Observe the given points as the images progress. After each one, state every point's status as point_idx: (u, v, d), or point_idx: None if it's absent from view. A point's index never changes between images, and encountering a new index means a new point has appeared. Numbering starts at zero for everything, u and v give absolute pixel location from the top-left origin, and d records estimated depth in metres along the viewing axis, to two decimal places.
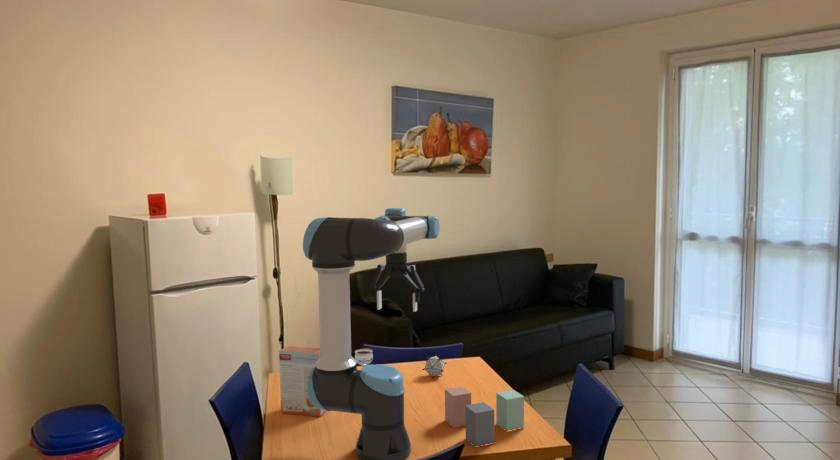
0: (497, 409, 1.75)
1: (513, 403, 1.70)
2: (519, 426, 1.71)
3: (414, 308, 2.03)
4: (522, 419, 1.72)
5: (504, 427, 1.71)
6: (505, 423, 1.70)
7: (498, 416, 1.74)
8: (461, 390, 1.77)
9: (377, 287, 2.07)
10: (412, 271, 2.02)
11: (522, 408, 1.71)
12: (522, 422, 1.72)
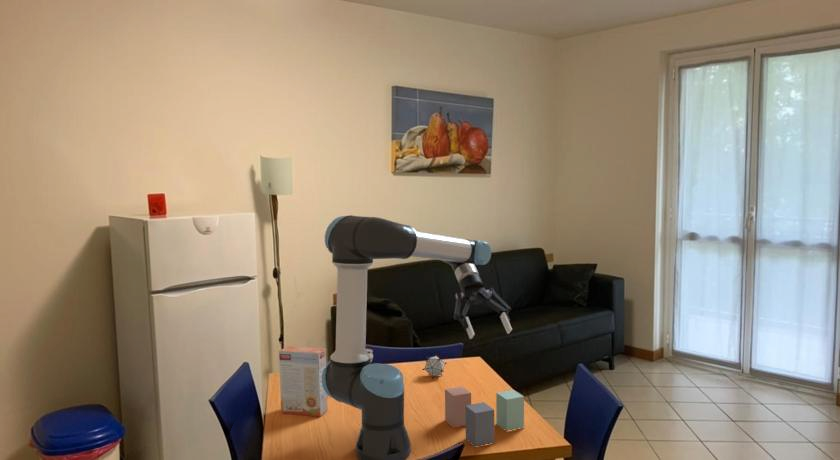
0: (497, 409, 1.75)
1: (514, 403, 1.70)
2: (519, 426, 1.71)
3: (510, 326, 1.84)
4: (522, 419, 1.72)
5: (504, 427, 1.71)
6: (505, 423, 1.70)
7: (498, 416, 1.74)
8: (461, 390, 1.77)
9: (464, 312, 1.83)
10: (494, 292, 1.92)
11: (522, 408, 1.71)
12: (522, 422, 1.72)
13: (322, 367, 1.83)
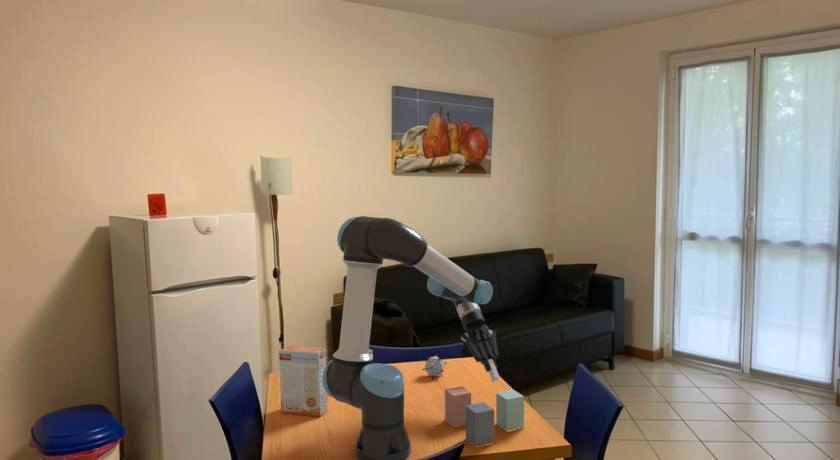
0: (497, 409, 1.75)
1: (513, 403, 1.70)
2: (519, 426, 1.71)
3: (497, 373, 1.81)
4: (522, 418, 1.72)
5: (504, 427, 1.71)
6: (505, 423, 1.70)
7: (498, 416, 1.74)
8: (461, 390, 1.77)
9: (484, 354, 1.85)
10: (494, 334, 1.91)
11: (522, 408, 1.71)
12: (522, 422, 1.72)
13: (322, 367, 1.83)
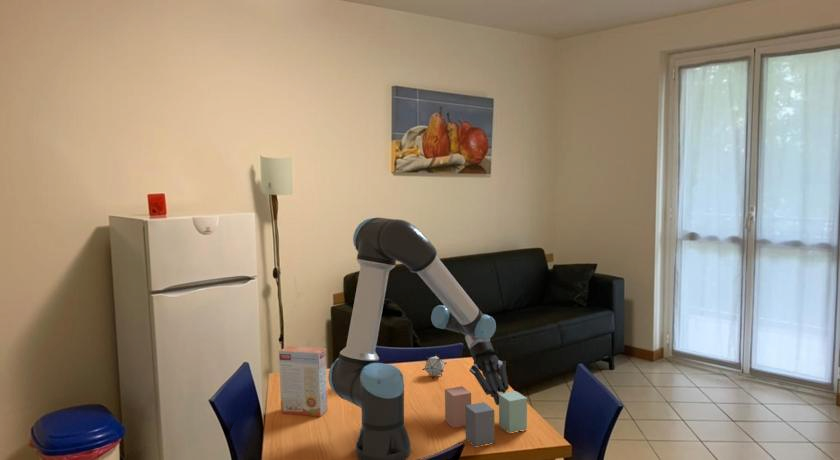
0: (499, 410, 1.73)
1: (516, 404, 1.69)
2: (522, 428, 1.70)
3: None
4: (525, 420, 1.70)
5: (507, 429, 1.70)
6: (508, 424, 1.69)
7: (501, 418, 1.72)
8: (461, 390, 1.77)
9: (494, 387, 1.80)
10: (503, 365, 1.86)
11: (525, 409, 1.70)
12: (525, 424, 1.70)
13: (322, 367, 1.83)
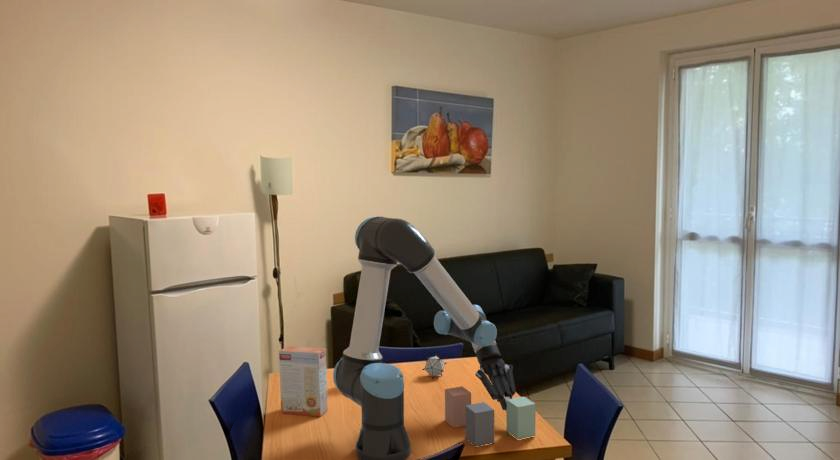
0: (507, 416, 1.69)
1: (525, 410, 1.64)
2: (530, 435, 1.66)
3: None
4: (534, 427, 1.66)
5: (515, 435, 1.65)
6: (516, 431, 1.64)
7: (509, 424, 1.68)
8: (461, 390, 1.77)
9: (501, 392, 1.75)
10: (510, 370, 1.81)
11: (534, 415, 1.66)
12: (533, 430, 1.66)
13: (322, 367, 1.83)
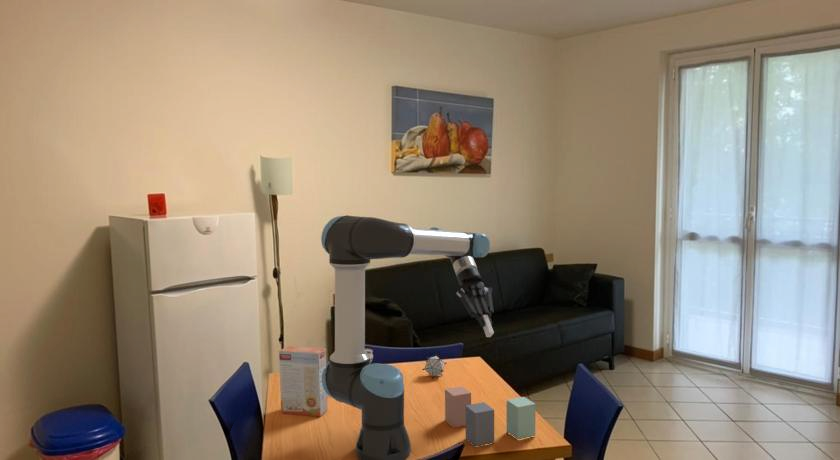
0: (507, 416, 1.69)
1: (525, 410, 1.64)
2: (530, 435, 1.66)
3: (492, 329, 1.80)
4: (534, 427, 1.66)
5: (515, 436, 1.65)
6: (516, 431, 1.64)
7: (509, 424, 1.68)
8: (461, 390, 1.77)
9: (479, 310, 1.83)
10: (489, 292, 1.89)
11: (534, 415, 1.66)
12: (533, 430, 1.66)
13: (322, 367, 1.83)
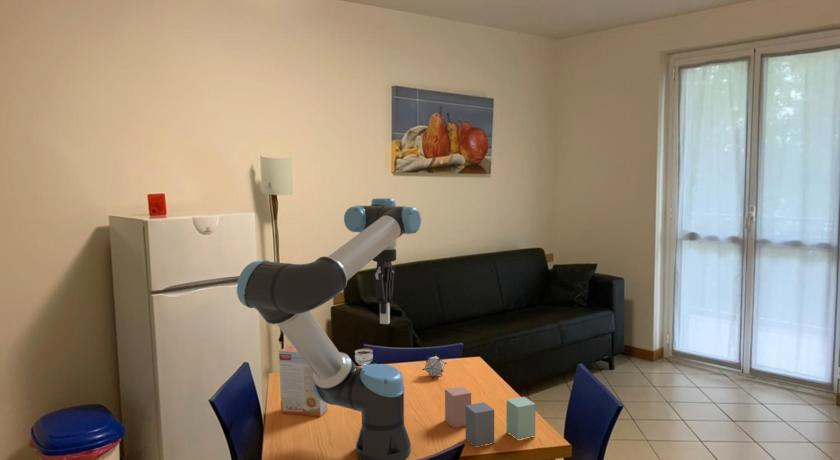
0: (507, 416, 1.69)
1: (525, 410, 1.64)
2: (530, 435, 1.66)
3: (389, 319, 1.79)
4: (534, 427, 1.66)
5: (515, 436, 1.65)
6: (516, 431, 1.64)
7: (509, 424, 1.68)
8: (461, 390, 1.77)
9: (386, 297, 1.77)
10: (393, 274, 1.82)
11: (534, 415, 1.66)
12: (533, 430, 1.66)
13: None
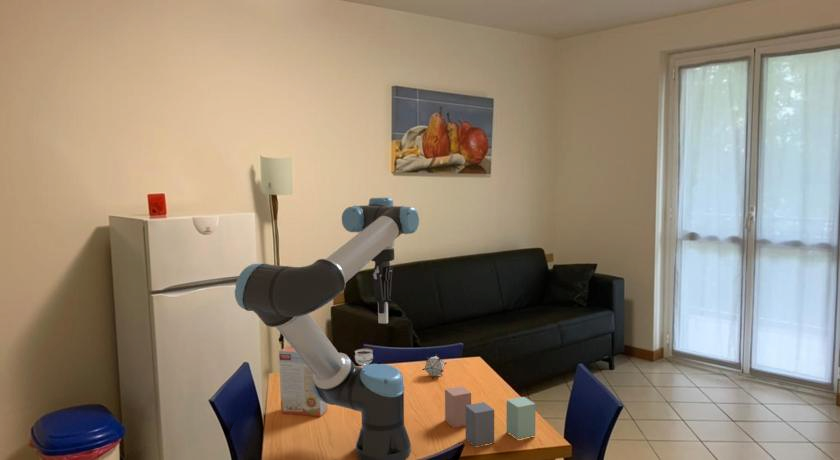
0: (507, 416, 1.69)
1: (525, 410, 1.64)
2: (530, 435, 1.66)
3: None
4: (534, 427, 1.66)
5: (515, 436, 1.65)
6: (516, 431, 1.64)
7: (509, 424, 1.68)
8: (461, 390, 1.77)
9: (385, 297, 1.77)
10: (391, 273, 1.82)
11: (534, 415, 1.66)
12: (533, 430, 1.66)
13: None
